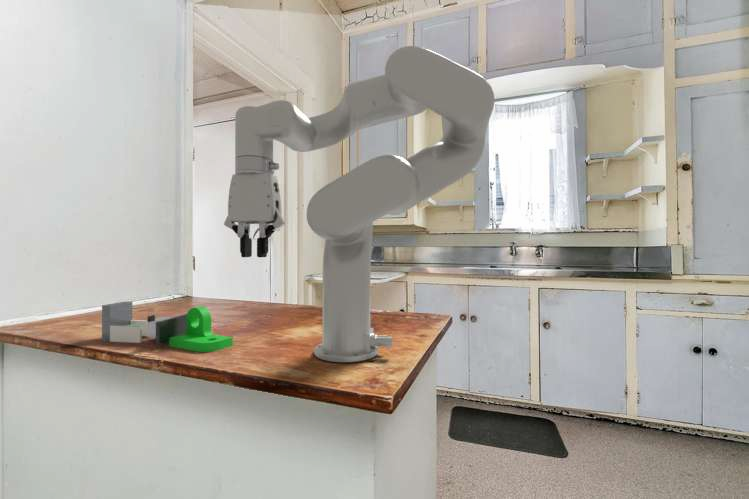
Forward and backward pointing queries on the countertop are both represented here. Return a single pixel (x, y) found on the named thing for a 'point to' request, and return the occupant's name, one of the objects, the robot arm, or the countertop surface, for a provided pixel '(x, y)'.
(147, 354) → the countertop surface
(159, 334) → the dark green piece
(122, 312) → the gauge housing
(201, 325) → the mechanical part
